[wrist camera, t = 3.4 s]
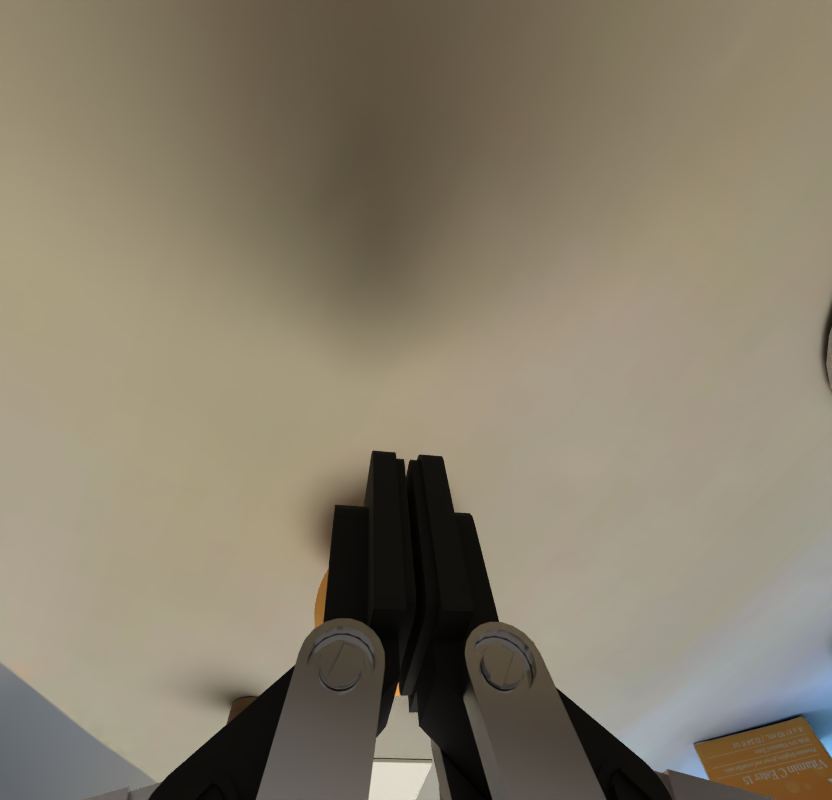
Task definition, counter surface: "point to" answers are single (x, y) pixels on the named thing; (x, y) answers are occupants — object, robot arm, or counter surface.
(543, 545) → the counter surface
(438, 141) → the counter surface
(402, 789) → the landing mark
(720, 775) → the small box
